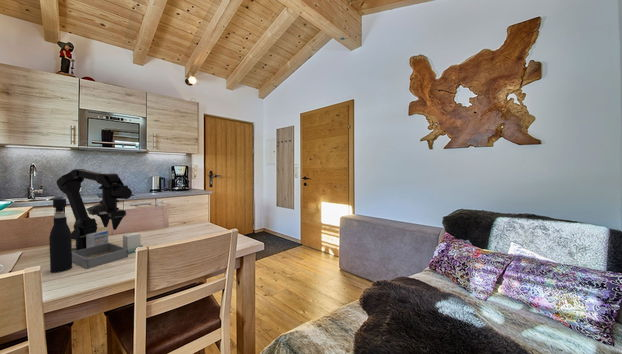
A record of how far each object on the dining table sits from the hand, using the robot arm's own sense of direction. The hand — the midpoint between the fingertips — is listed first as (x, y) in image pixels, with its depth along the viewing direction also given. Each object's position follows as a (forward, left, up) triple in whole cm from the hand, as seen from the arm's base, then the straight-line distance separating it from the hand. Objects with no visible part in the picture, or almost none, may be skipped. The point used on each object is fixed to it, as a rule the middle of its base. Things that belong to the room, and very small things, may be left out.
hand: (110, 228), depth 120 cm
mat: (+6, +7, -12) cm, 15 cm away
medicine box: (-10, -1, -12) cm, 16 cm away
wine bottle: (+7, -20, -12) cm, 24 cm away
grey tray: (+6, -7, -12) cm, 15 cm away
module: (+6, +7, -11) cm, 14 cm away
